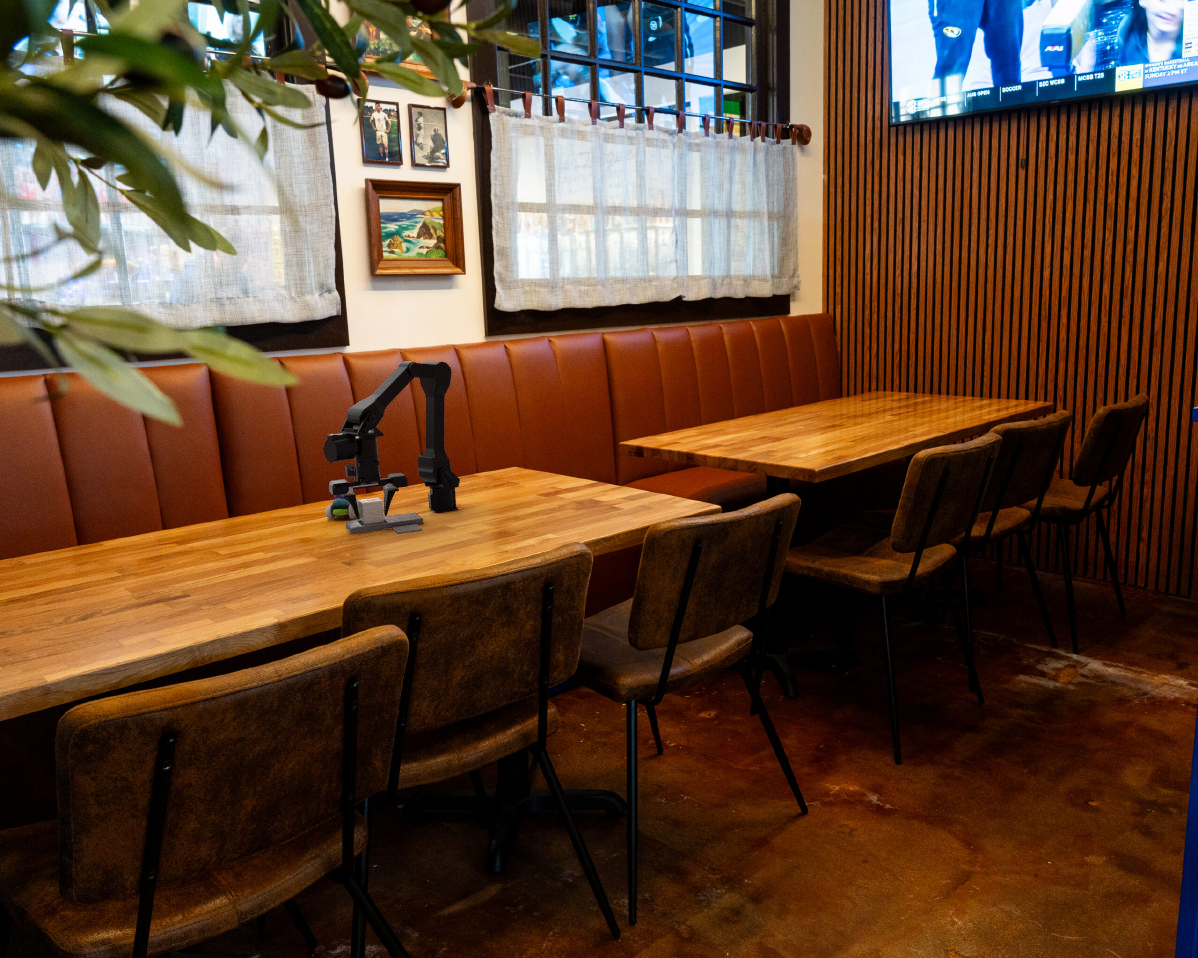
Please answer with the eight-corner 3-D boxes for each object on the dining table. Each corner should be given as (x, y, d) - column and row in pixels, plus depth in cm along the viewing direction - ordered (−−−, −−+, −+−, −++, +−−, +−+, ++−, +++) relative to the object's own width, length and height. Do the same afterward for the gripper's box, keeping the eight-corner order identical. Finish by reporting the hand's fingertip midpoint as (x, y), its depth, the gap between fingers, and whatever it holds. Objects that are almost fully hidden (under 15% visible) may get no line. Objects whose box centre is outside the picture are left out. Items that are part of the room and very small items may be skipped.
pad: (416, 525, 248) (415, 523, 248) (421, 530, 242) (421, 528, 242) (392, 528, 245) (392, 527, 245) (397, 533, 240) (397, 532, 240)
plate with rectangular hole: (415, 517, 256) (415, 512, 256) (423, 524, 249) (422, 518, 249) (345, 527, 249) (345, 521, 249) (351, 533, 242) (350, 527, 242)
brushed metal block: (380, 524, 251) (378, 497, 250) (384, 528, 247) (382, 500, 245) (360, 526, 249) (358, 499, 248) (364, 530, 245) (362, 503, 243)
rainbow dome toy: (366, 512, 265) (364, 486, 264) (354, 521, 256) (352, 494, 255) (336, 513, 266) (334, 487, 265) (323, 521, 257) (320, 494, 255)
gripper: (396, 448, 255) (401, 506, 258) (322, 455, 248) (328, 516, 251) (406, 454, 245) (411, 515, 248) (330, 462, 238) (336, 524, 241)
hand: (371, 517), depth 247 cm, fingers open, 7 cm apart
